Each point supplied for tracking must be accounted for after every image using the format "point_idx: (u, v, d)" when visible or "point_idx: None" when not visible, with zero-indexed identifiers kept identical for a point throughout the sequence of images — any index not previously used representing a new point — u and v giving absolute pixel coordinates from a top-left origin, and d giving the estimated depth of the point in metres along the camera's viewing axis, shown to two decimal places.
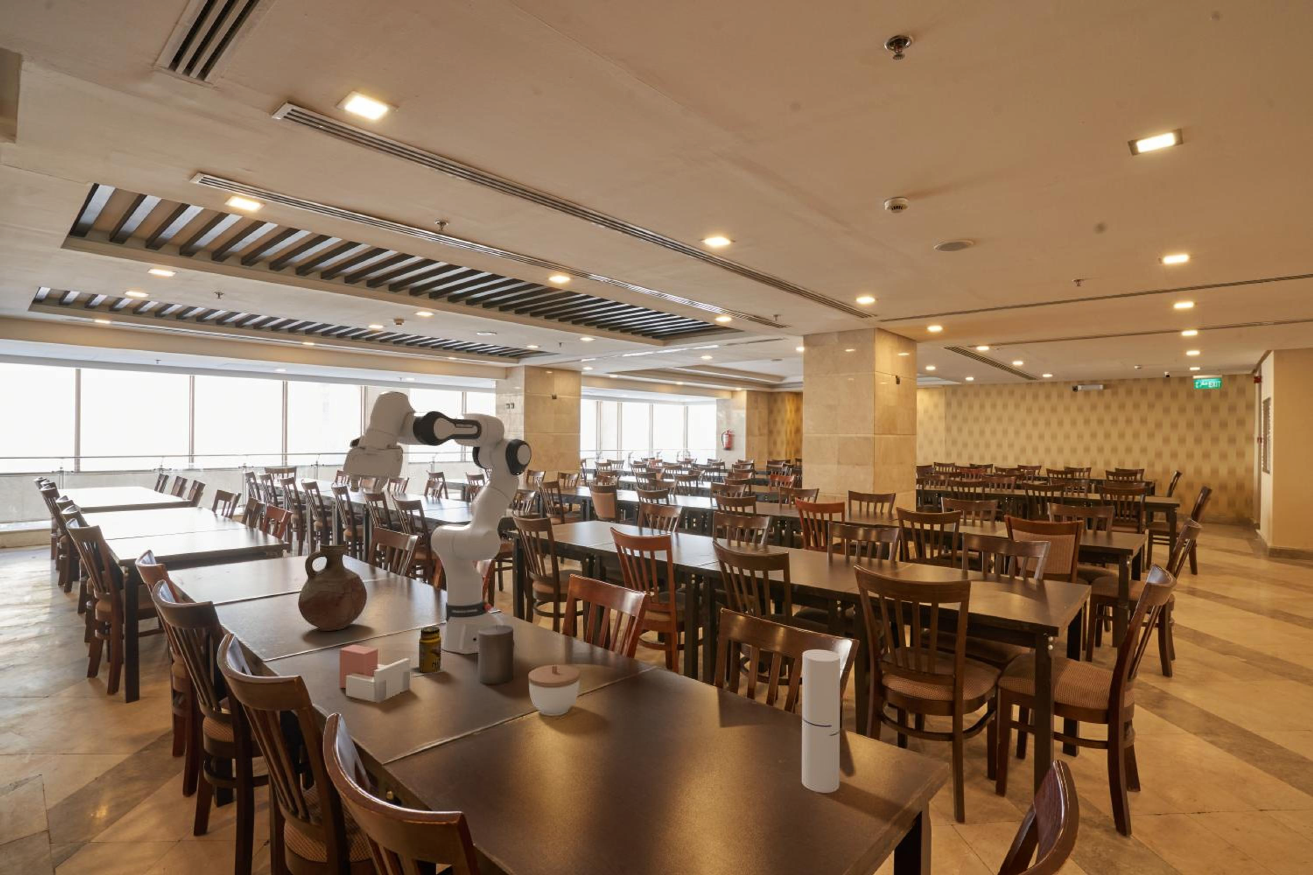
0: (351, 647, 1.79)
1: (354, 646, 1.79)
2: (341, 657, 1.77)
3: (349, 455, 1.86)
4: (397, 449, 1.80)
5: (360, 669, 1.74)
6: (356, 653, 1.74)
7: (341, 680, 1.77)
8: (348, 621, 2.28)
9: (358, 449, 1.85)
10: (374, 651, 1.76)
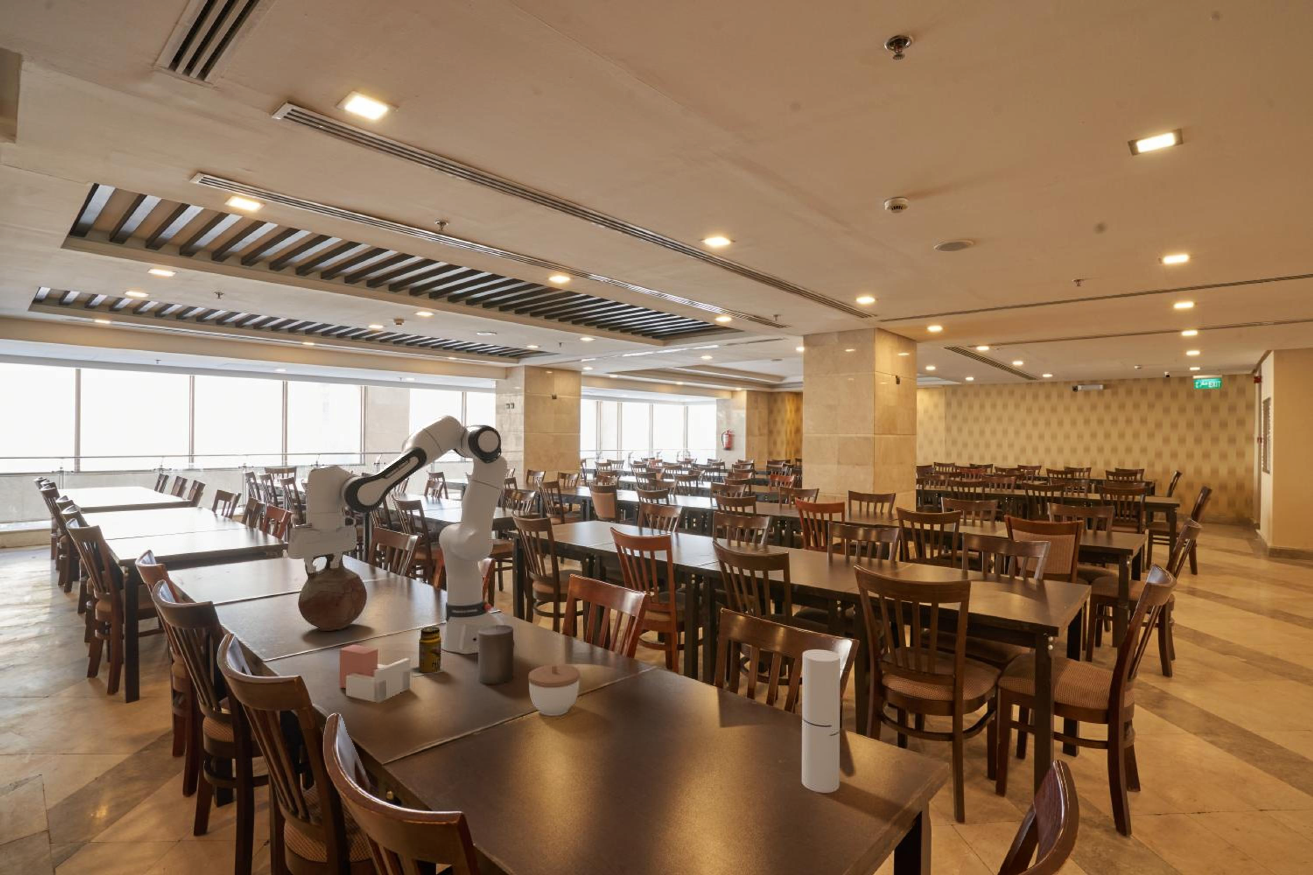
0: (351, 647, 1.79)
1: (354, 646, 1.79)
2: (341, 657, 1.77)
3: None
4: None
5: (360, 669, 1.74)
6: (356, 653, 1.74)
7: (341, 680, 1.77)
8: (348, 621, 2.28)
9: None
10: (374, 651, 1.76)
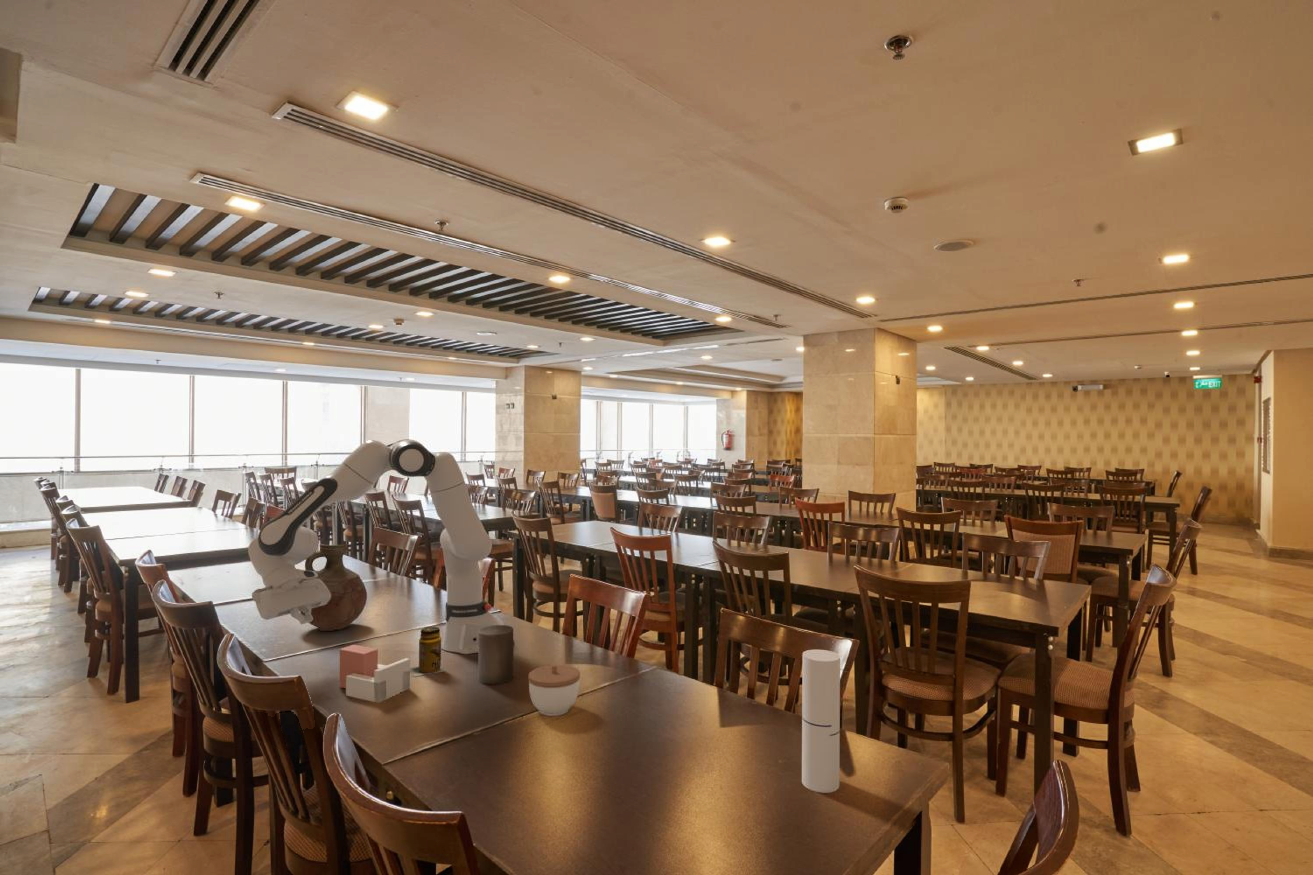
0: (351, 647, 1.79)
1: (354, 646, 1.79)
2: (341, 657, 1.77)
3: None
4: None
5: (360, 669, 1.74)
6: (356, 653, 1.74)
7: (341, 680, 1.77)
8: (348, 621, 2.28)
9: None
10: (374, 651, 1.76)
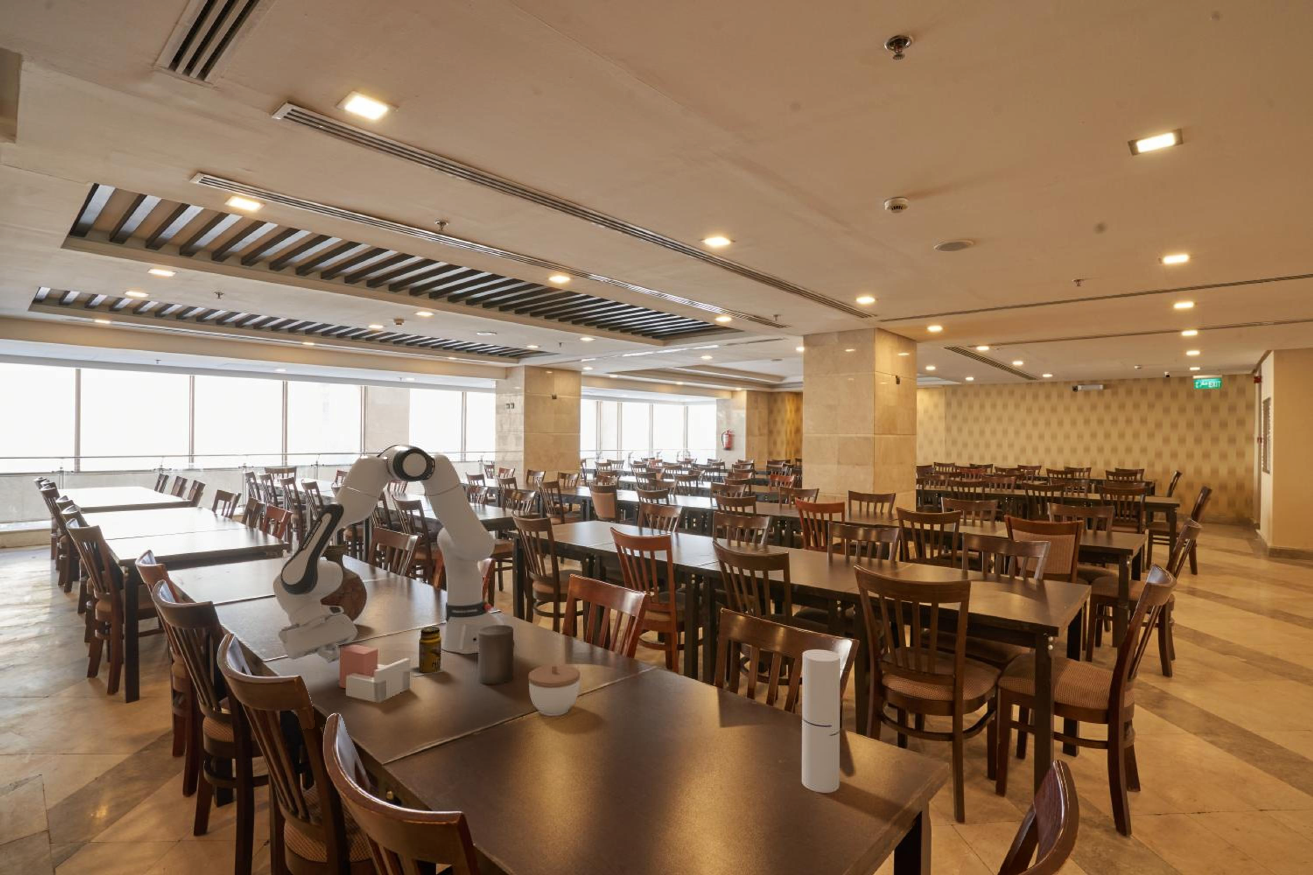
0: (351, 647, 1.79)
1: (354, 646, 1.79)
2: (341, 657, 1.77)
3: None
4: None
5: (360, 669, 1.74)
6: (356, 653, 1.74)
7: (341, 680, 1.77)
8: None
9: None
10: (374, 651, 1.76)
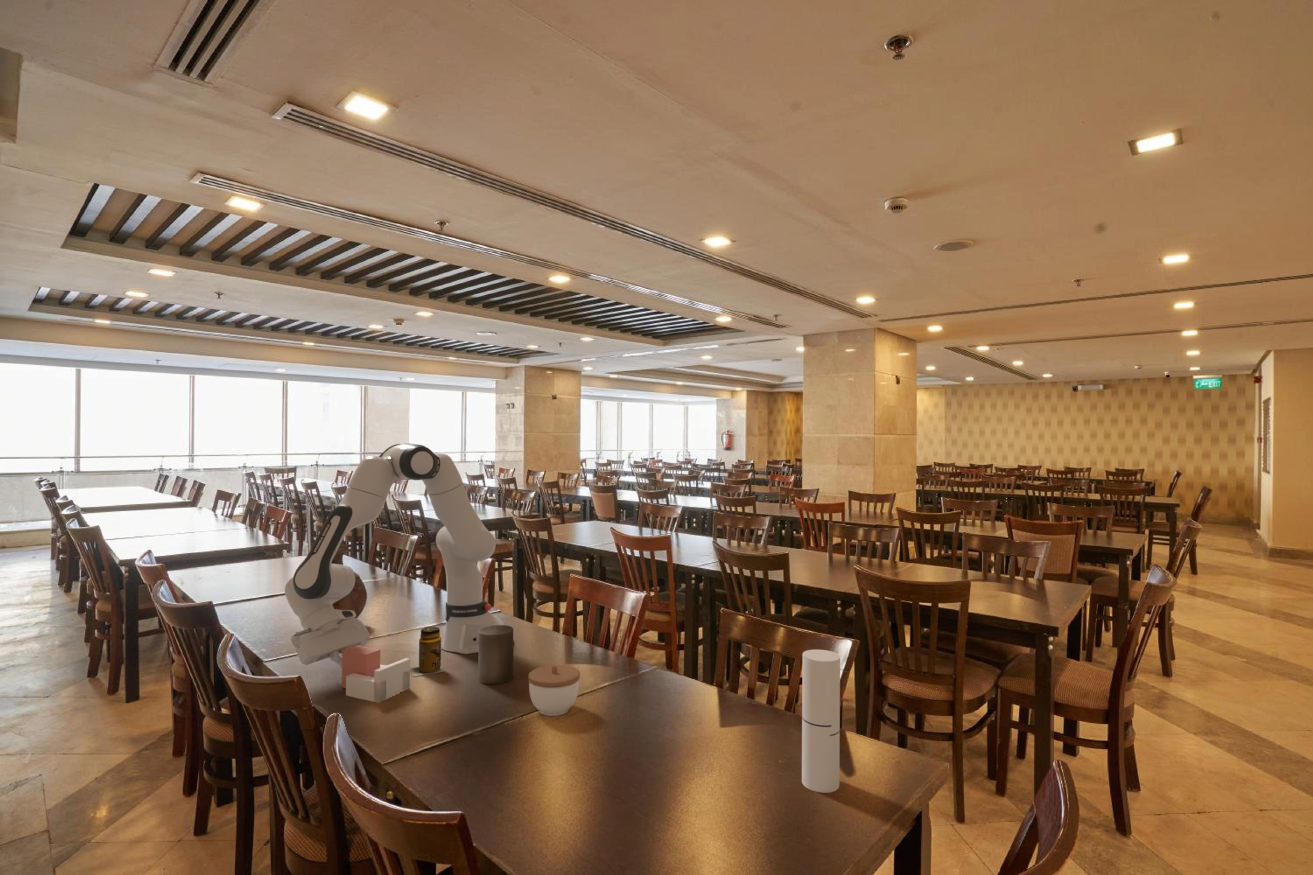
0: (353, 647, 1.78)
1: (356, 646, 1.79)
2: (343, 657, 1.76)
3: None
4: None
5: (363, 669, 1.73)
6: (359, 654, 1.74)
7: (343, 681, 1.76)
8: None
9: None
10: (377, 651, 1.76)
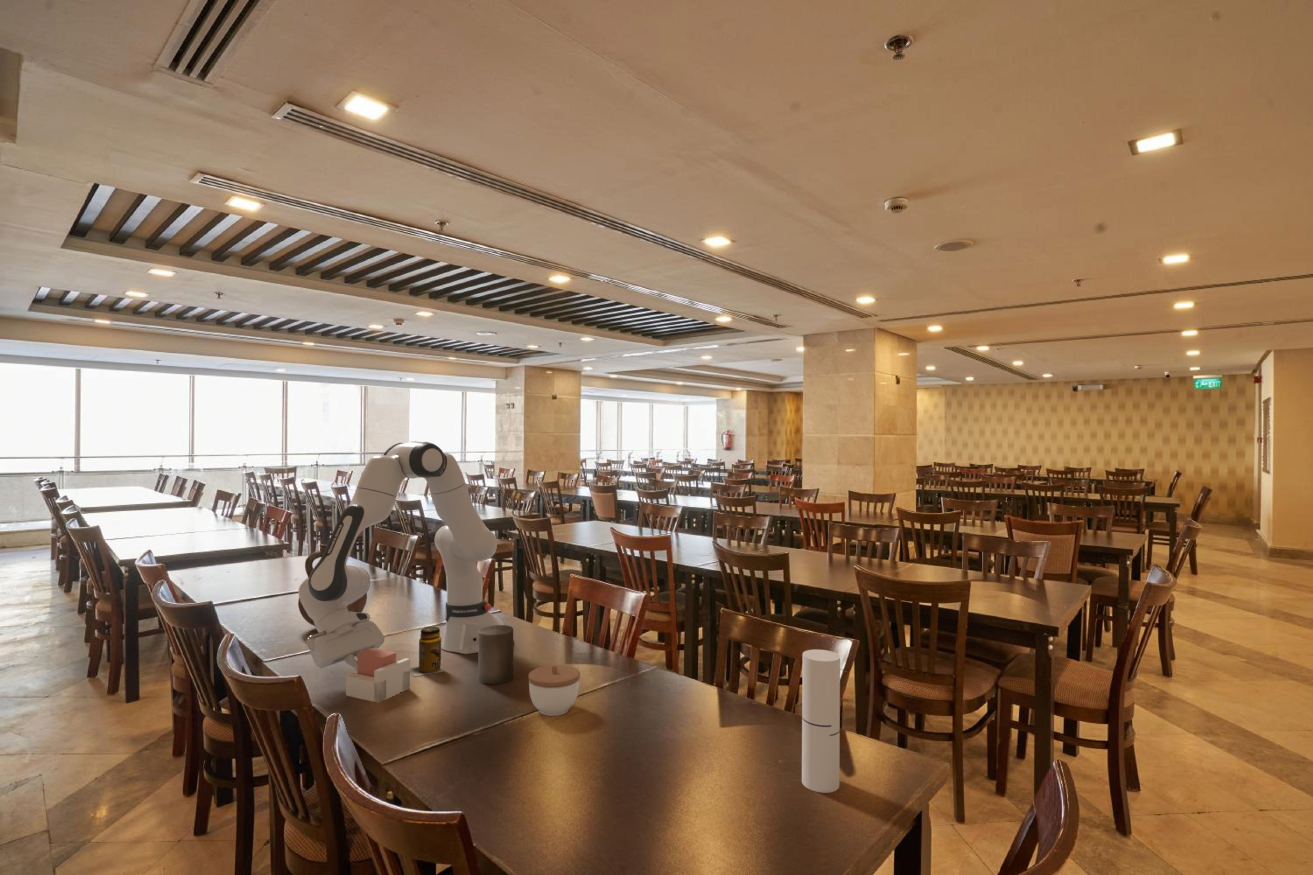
0: (369, 650, 1.76)
1: (372, 649, 1.77)
2: (358, 661, 1.74)
3: None
4: None
5: None
6: (374, 657, 1.72)
7: None
8: None
9: None
10: (392, 655, 1.74)
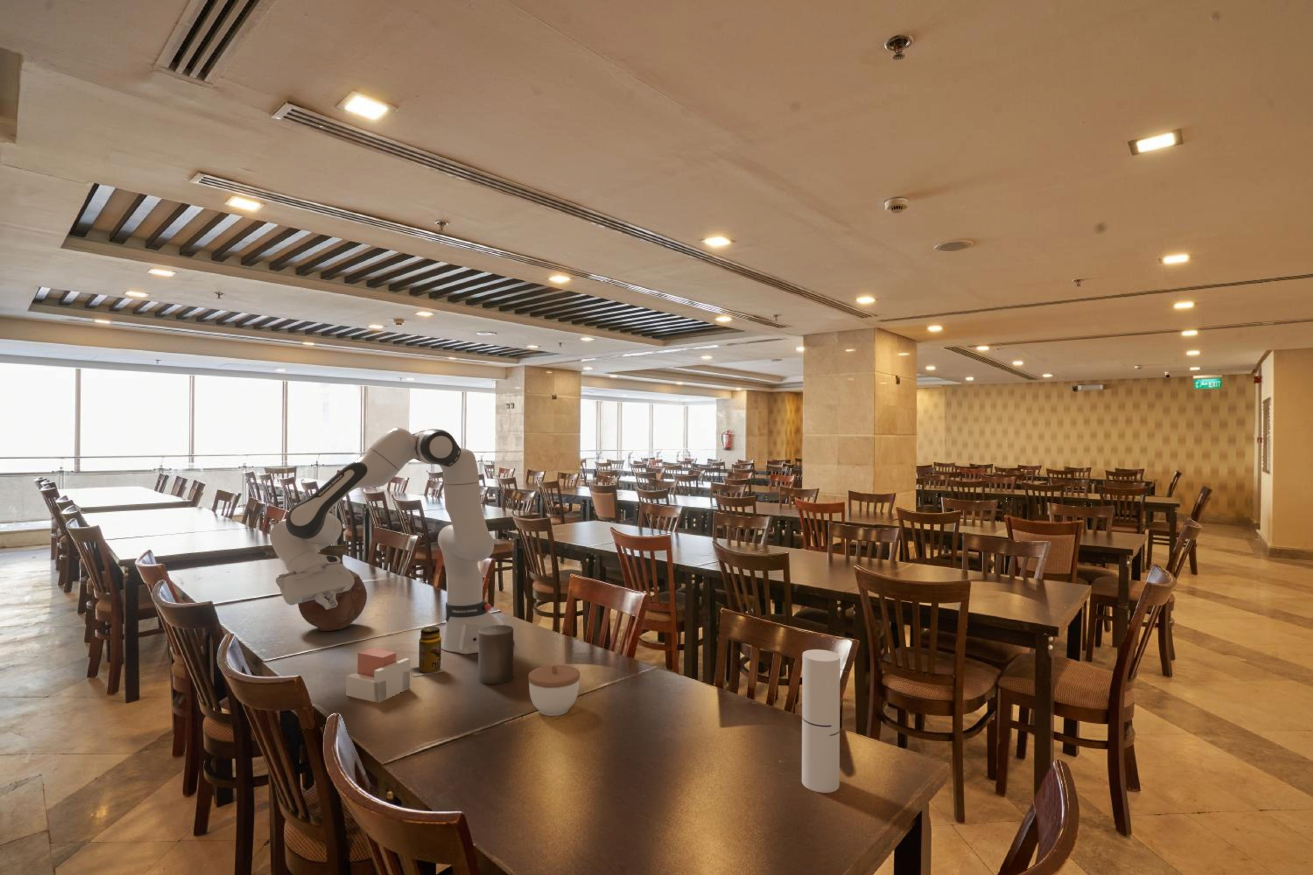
0: (369, 650, 1.76)
1: (372, 649, 1.77)
2: (359, 661, 1.74)
3: None
4: None
5: None
6: (374, 657, 1.72)
7: None
8: (348, 621, 2.28)
9: None
10: (393, 655, 1.74)
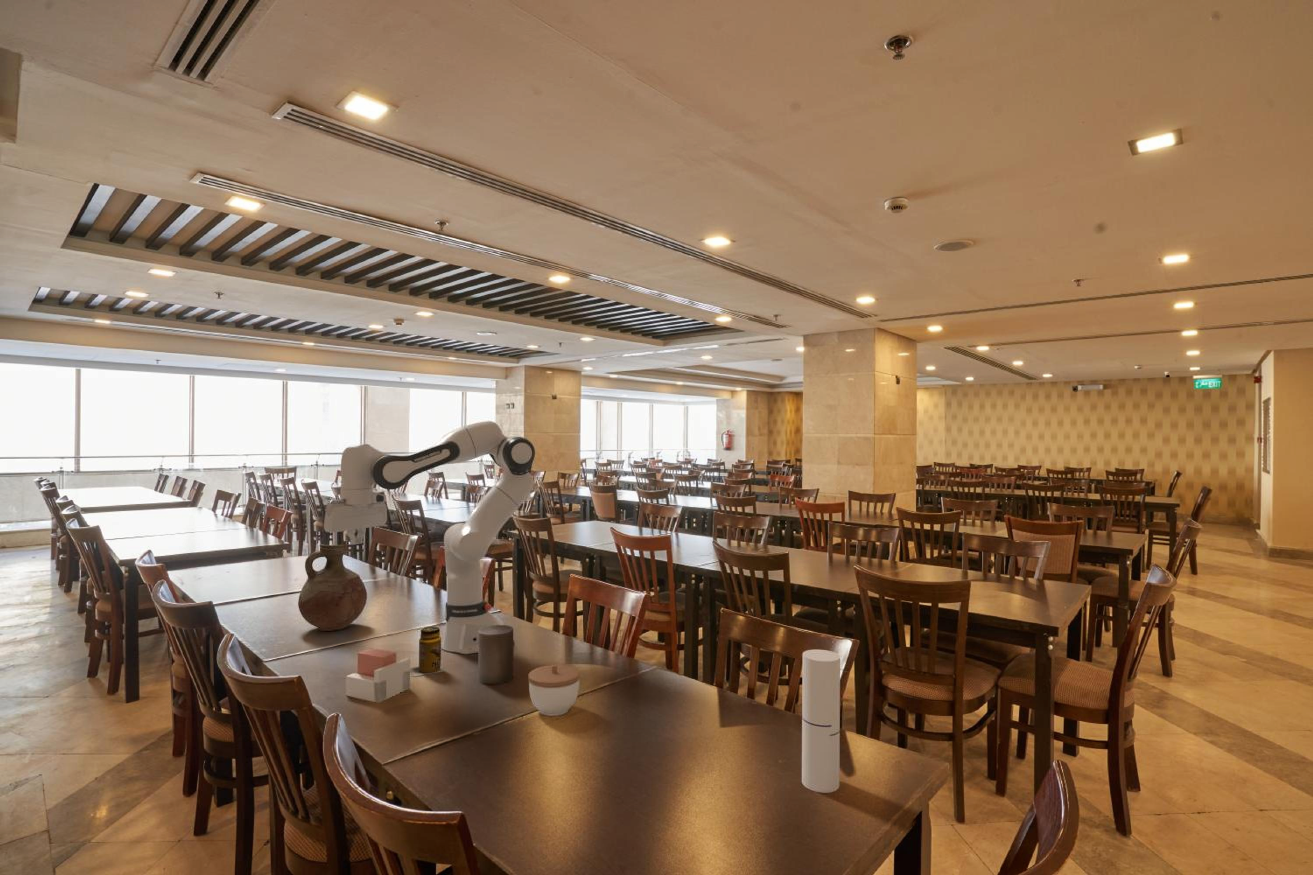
0: (369, 650, 1.76)
1: (372, 649, 1.77)
2: (359, 661, 1.74)
3: None
4: None
5: None
6: (374, 657, 1.72)
7: None
8: (348, 621, 2.28)
9: None
10: (393, 655, 1.74)
